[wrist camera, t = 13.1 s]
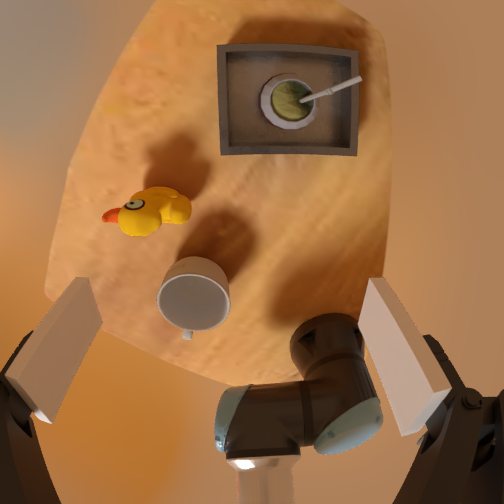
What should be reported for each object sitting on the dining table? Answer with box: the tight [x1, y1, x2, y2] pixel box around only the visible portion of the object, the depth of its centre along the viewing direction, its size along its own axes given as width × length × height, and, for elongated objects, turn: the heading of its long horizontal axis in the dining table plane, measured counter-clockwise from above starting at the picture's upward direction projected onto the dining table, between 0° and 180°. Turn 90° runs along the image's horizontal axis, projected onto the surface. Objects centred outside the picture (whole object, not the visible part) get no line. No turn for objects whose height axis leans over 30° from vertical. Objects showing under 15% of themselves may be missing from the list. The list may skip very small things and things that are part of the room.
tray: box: [217, 43, 359, 156], centre depth 33 cm, size 14×17×6 cm
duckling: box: [102, 186, 192, 237], centre depth 38 cm, size 11×5×10 cm, turn 84°
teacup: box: [157, 256, 230, 340], centre depth 46 cm, size 14×11×8 cm
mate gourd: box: [258, 73, 362, 130], centre depth 28 cm, size 8×8×15 cm
